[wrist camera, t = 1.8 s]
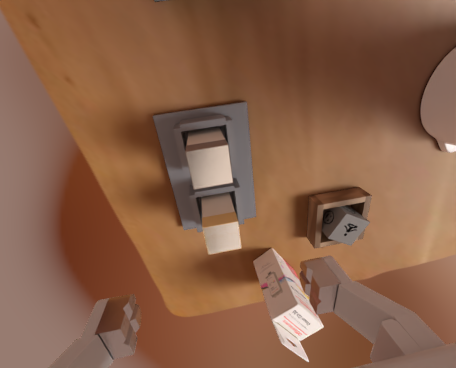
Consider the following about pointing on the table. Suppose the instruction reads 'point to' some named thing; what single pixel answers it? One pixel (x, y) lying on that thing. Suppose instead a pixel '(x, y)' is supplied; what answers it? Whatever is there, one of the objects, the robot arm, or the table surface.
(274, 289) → the ink cartridge box
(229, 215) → the block
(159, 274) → the table surface
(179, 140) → the block
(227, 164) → the block
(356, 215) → the dice cube
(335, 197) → the dice corral
